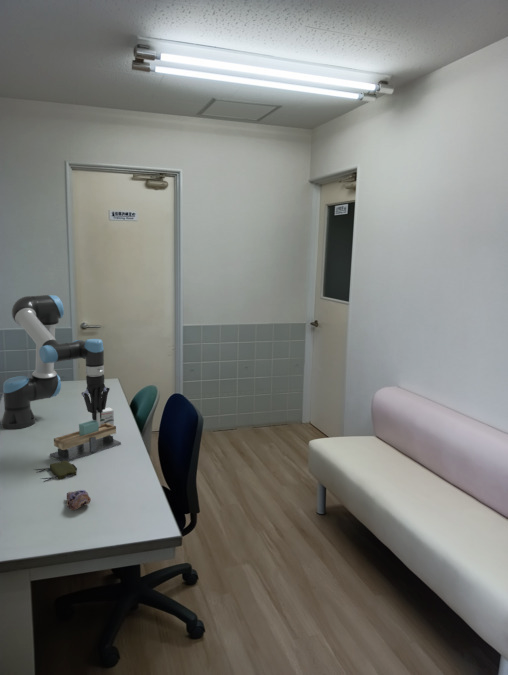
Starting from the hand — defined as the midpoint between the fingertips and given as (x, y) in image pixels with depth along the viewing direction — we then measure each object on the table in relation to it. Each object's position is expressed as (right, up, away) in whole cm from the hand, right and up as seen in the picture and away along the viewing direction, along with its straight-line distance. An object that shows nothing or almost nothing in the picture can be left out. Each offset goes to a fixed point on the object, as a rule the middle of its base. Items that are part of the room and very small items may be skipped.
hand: (97, 426), depth 224 cm
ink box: (-2, -7, +18) cm, 19 cm away
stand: (-4, -10, -3) cm, 11 cm away
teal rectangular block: (-3, -3, -3) cm, 5 cm away
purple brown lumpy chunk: (+9, -19, -50) cm, 54 cm away
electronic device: (-8, -15, -26) cm, 31 cm away
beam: (-4, -4, -4) cm, 7 cm away
